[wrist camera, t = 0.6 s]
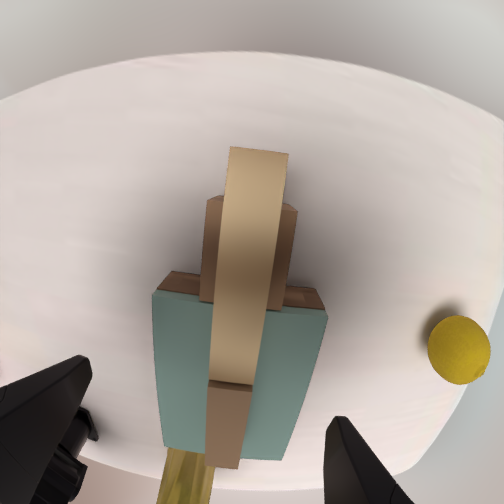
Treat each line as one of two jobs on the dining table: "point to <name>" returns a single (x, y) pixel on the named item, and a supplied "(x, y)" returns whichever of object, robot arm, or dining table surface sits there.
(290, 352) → the lid
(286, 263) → the brown box
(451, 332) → the lemon
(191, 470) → the vase
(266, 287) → the tan rectangular bar
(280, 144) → the dining table surface
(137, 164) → the dining table surface
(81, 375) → the robot arm
